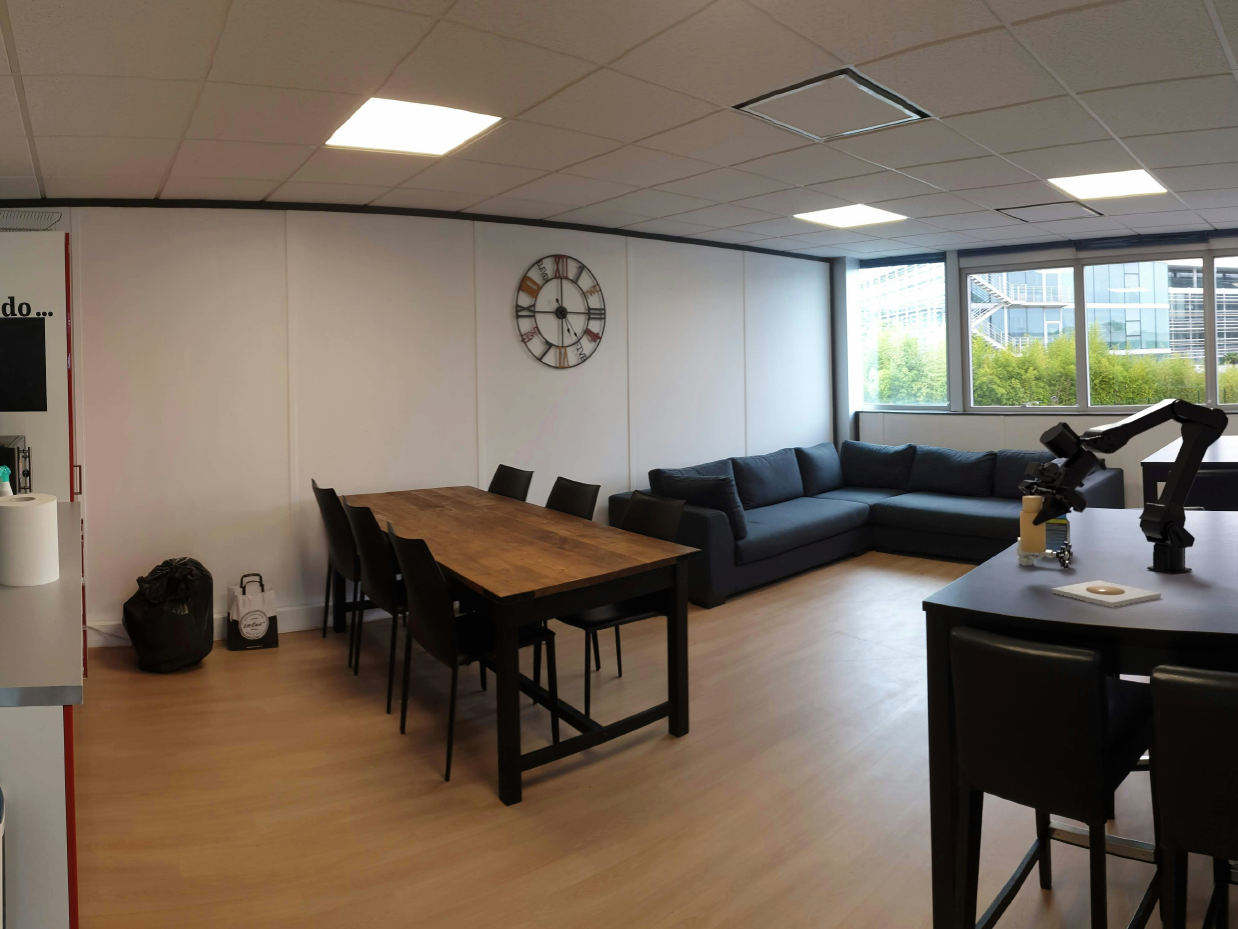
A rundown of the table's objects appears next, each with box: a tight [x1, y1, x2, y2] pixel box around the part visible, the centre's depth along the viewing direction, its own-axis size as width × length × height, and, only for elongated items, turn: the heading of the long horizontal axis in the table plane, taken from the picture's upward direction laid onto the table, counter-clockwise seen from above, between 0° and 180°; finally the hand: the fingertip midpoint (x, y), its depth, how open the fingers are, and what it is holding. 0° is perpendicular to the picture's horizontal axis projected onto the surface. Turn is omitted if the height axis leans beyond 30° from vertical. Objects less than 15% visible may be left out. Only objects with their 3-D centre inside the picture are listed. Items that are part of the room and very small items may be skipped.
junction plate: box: [1051, 579, 1162, 608], centre depth 169 cm, size 14×14×1 cm
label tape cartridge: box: [1045, 514, 1071, 552], centre depth 213 cm, size 9×4×12 cm, turn 48°
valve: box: [1015, 537, 1074, 569], centre depth 199 cm, size 7×7×12 cm
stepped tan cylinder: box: [1019, 495, 1046, 553], centre depth 185 cm, size 5×5×12 cm
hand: (1026, 522), depth 185 cm, fingers closed on stepped tan cylinder, 5 cm apart
